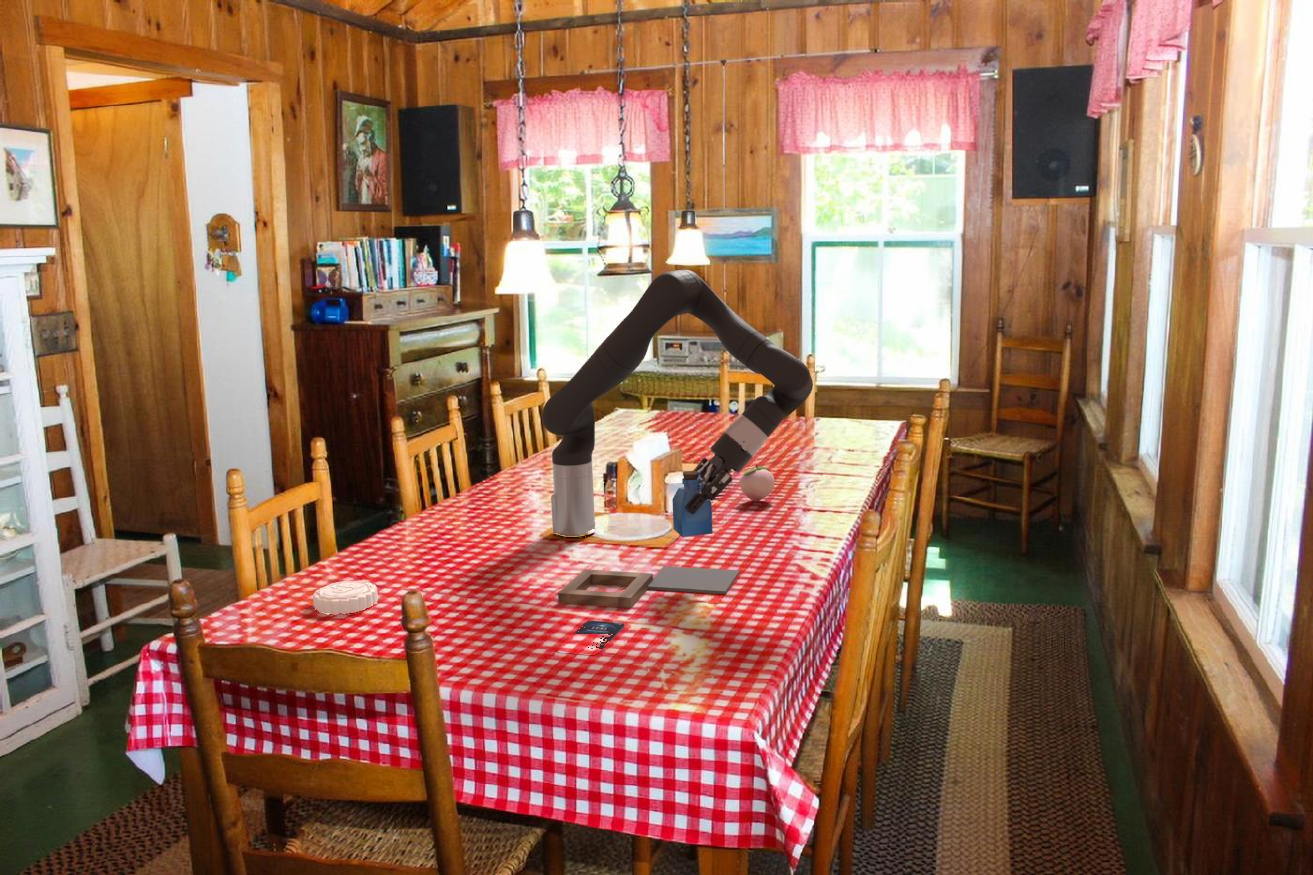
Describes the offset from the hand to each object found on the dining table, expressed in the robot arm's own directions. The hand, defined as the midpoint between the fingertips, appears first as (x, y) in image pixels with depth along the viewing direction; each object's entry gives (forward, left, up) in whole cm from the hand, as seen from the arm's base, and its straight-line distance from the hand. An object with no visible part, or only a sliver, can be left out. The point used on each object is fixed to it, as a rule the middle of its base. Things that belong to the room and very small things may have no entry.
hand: (684, 506), depth 211 cm
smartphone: (-9, -32, -16) cm, 37 cm away
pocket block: (-14, -9, -16) cm, 23 cm away
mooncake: (-62, -25, -16) cm, 69 cm away
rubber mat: (+1, +1, -16) cm, 16 cm away
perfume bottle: (+1, +1, -5) cm, 6 cm away
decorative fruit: (+2, +65, -16) cm, 67 cm away
